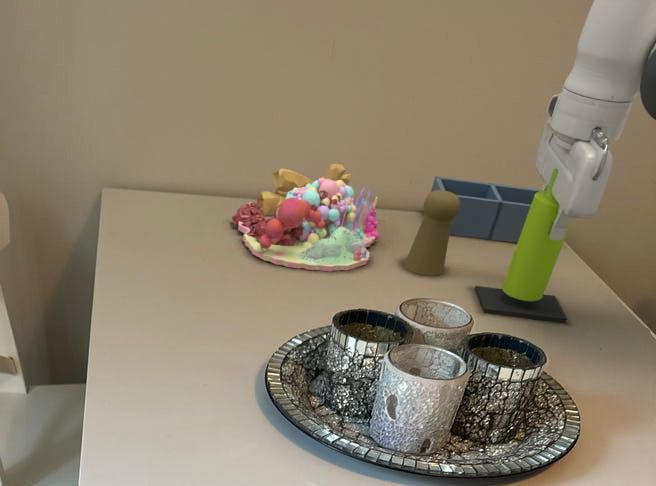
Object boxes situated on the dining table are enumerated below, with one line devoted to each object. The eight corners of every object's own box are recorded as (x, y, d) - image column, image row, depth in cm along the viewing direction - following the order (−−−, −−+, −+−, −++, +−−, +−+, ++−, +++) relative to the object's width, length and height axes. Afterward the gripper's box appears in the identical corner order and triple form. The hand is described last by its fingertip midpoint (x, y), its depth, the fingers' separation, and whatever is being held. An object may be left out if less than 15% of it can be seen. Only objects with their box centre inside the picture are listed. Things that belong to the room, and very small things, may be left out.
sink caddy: (534, 226, 159) (547, 190, 155) (546, 246, 153) (559, 209, 149) (425, 212, 159) (435, 176, 155) (431, 232, 153) (442, 194, 148)
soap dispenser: (533, 307, 129) (591, 156, 115) (493, 288, 133) (545, 139, 119) (556, 298, 132) (615, 150, 118) (517, 279, 136) (570, 133, 122)
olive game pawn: (421, 256, 144) (441, 183, 137) (451, 271, 141) (474, 196, 133) (396, 263, 141) (416, 189, 133) (426, 278, 138) (448, 203, 130)
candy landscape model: (214, 208, 151) (222, 148, 144) (344, 209, 157) (357, 150, 150) (264, 272, 134) (275, 207, 127) (407, 270, 140) (425, 207, 133)
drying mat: (553, 299, 137) (554, 295, 137) (565, 323, 131) (567, 319, 131) (474, 289, 137) (475, 285, 137) (483, 312, 131) (484, 308, 131)
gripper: (637, 145, 109) (589, 260, 119) (593, 100, 124) (554, 206, 134) (585, 138, 109) (542, 254, 119) (547, 94, 124) (512, 200, 134)
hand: (548, 228), depth 126 cm, fingers closed on soap dispenser, 6 cm apart
